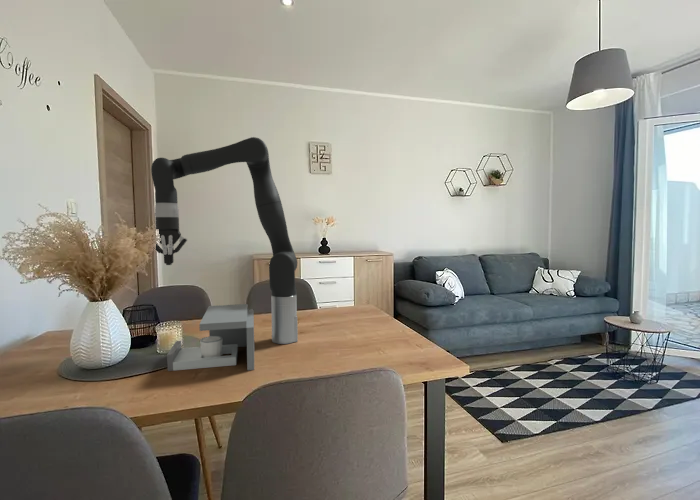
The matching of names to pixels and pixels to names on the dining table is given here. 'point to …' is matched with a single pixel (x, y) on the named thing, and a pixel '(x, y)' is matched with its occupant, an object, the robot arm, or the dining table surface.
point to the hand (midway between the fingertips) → (168, 264)
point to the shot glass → (211, 346)
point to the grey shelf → (232, 326)
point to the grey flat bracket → (199, 357)
